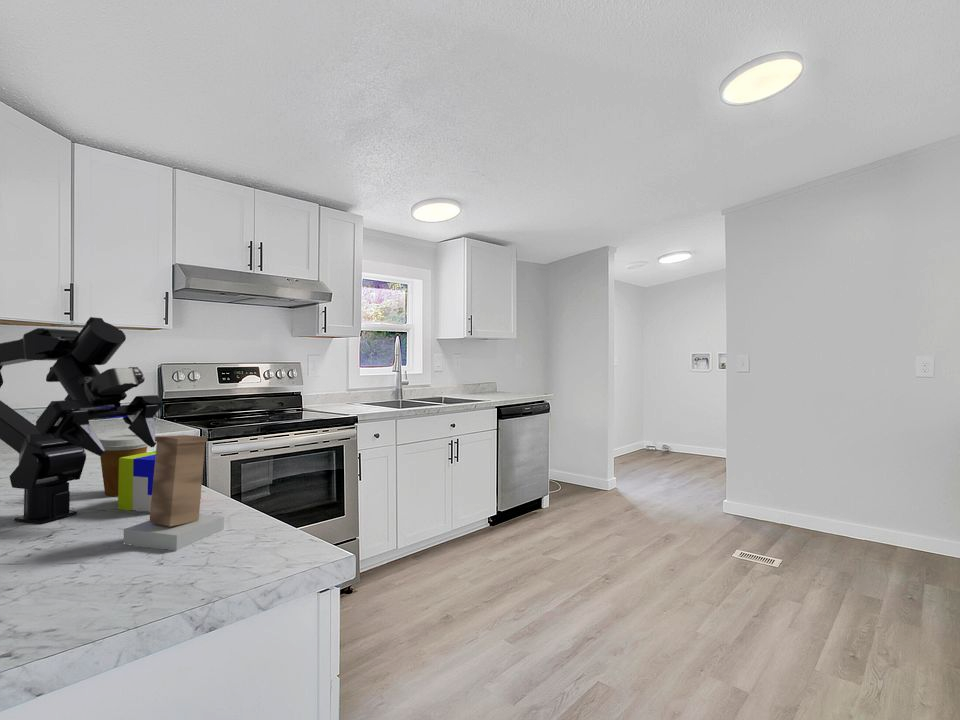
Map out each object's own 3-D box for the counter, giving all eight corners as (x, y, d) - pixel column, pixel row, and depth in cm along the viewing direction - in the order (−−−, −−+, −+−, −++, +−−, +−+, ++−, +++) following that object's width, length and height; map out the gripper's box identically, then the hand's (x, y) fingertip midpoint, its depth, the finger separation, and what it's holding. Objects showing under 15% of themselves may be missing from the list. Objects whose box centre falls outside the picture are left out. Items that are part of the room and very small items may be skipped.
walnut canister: (147, 522, 83) (155, 436, 84) (178, 516, 88) (185, 434, 89) (169, 527, 81) (177, 438, 82) (200, 520, 85) (207, 437, 86)
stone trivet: (123, 548, 80) (123, 529, 80) (174, 528, 90) (175, 511, 90) (176, 555, 78) (176, 535, 78) (223, 533, 88) (223, 516, 88)
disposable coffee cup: (83, 496, 108) (85, 439, 108) (124, 486, 117) (125, 433, 117) (120, 499, 105) (122, 441, 106) (159, 489, 115) (160, 435, 115)
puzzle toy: (162, 513, 97) (163, 460, 97) (117, 509, 99) (118, 457, 99) (200, 500, 107) (201, 452, 107) (159, 496, 109) (160, 449, 109)
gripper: (50, 350, 80) (100, 423, 77) (156, 353, 98) (201, 413, 95) (14, 398, 83) (61, 472, 79) (125, 392, 100) (167, 452, 97)
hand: (129, 449), depth 88 cm, fingers open, 9 cm apart
